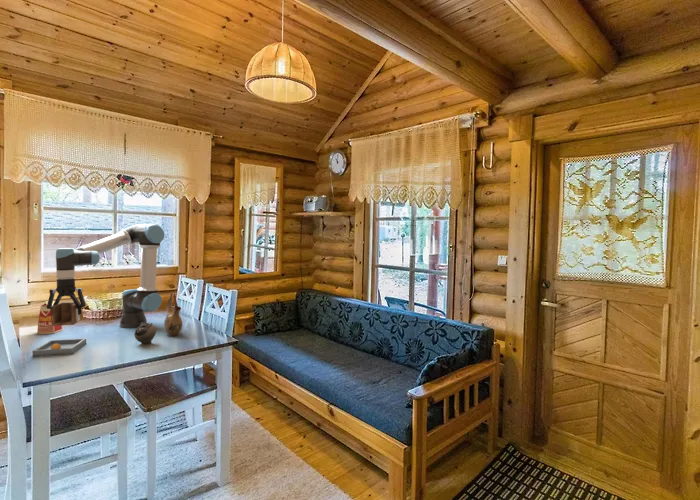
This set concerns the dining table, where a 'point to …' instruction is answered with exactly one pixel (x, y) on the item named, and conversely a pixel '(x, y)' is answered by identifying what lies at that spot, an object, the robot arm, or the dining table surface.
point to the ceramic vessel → (173, 317)
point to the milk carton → (47, 321)
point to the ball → (56, 346)
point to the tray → (66, 347)
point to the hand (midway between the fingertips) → (67, 321)
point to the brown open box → (64, 314)
